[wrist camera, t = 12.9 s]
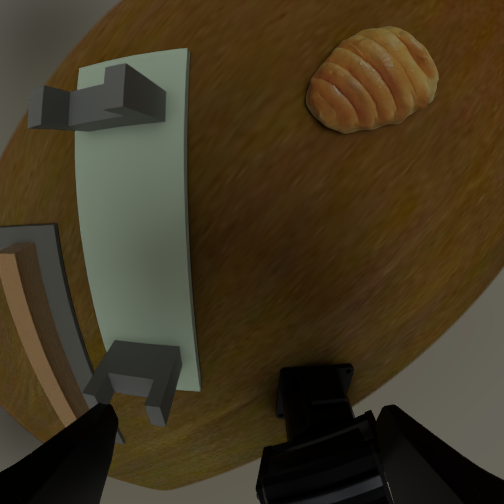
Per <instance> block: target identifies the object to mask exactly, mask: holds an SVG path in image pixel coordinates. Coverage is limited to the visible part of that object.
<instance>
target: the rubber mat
mask: <svg viewBox="0 0 504 504" xmlns="http://www.w3.org/2000/svg"><path fill="white" fill-rule="evenodd" d="M14 243H35V246H36V251H37V257H38V262H39V266H40V271H41V275H42V280H43V284H44V288H45V292H46V296H47V299H48V303H49V306H50V310H51V313H52V317H53V320H54V323H55V326H56V329H57V332H58V335H59V338H60V341H61V344H62V346H63V349H64V352H65V355H66V357H67V360H68V362H69V365H70V367H71V370H72V372H73V374H74V377H75V379H76V381H77V384H78V386H79V388H80V390H81V392H82V393H83V391H84V389H85V387H86V386H87V384H88V382H89V381H90V379H91V377H92V376H93V374H94V371H93V368H92V365H91V362H90V360H89V357H88V354H87V351H86V348H85V345H84V342H83V339H82V335H81V332H80V329H79V326H78V322H77V319H76V315H75V311H74V308H73V304H72V300H71V296H70V291H69V287H68V283H67V278H66V273H65V268H64V263H63V258H62V252H61V246H60V240H59V233H58V226H57V223H56V224H36V225H18V226H3V227H0V250H2V249H4V248H6V247H8V246H10V245H12V244H14ZM82 395H83V394H82ZM83 397H84V396H83ZM84 399H85V398H84ZM85 401H86V400H85ZM86 403H87V402H86ZM87 405H88V404H87ZM88 407H89V406H88ZM89 409H90V408H89ZM115 442H116V443H120V444H124V443H125V440H124V438H123V436H122V434H121V432H120V430H119V428H118V429H117V434H116V439H115Z"/></svg>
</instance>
